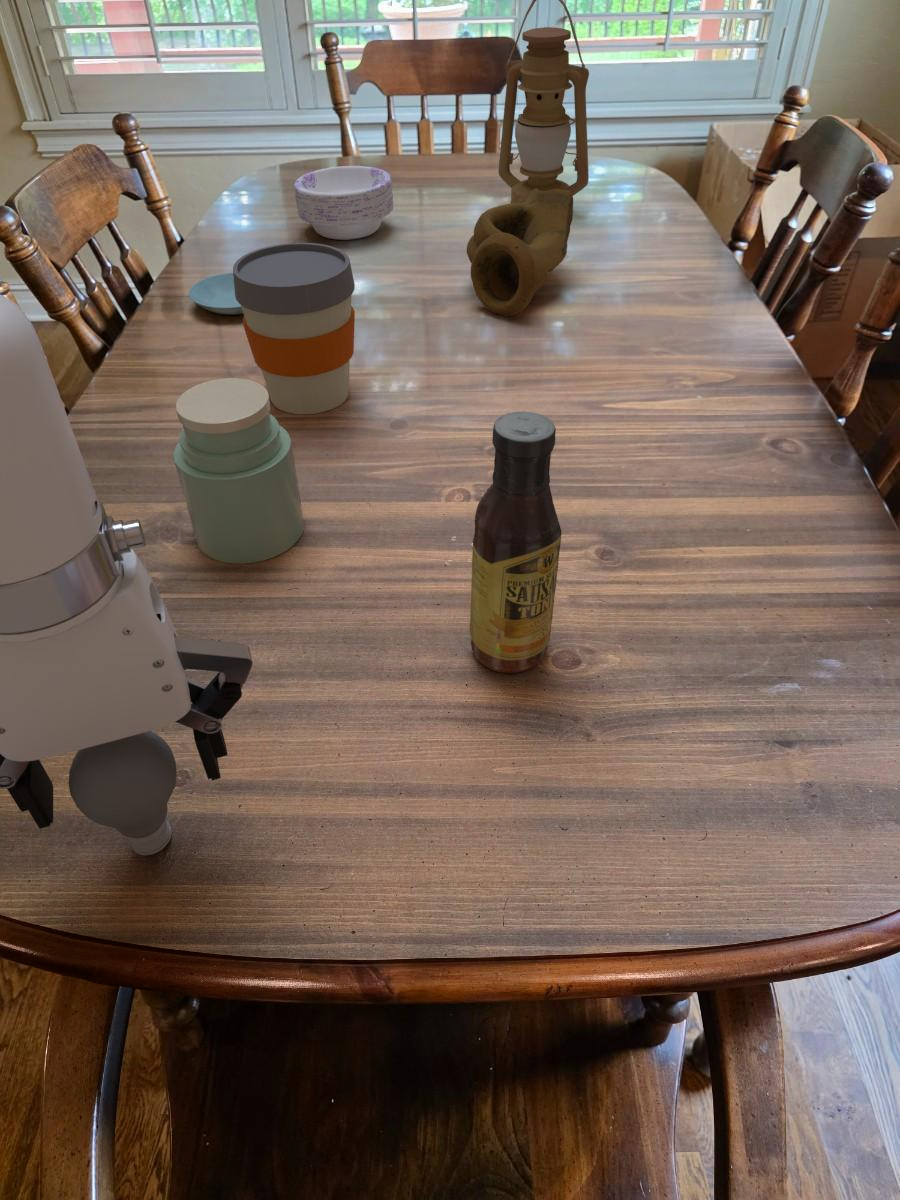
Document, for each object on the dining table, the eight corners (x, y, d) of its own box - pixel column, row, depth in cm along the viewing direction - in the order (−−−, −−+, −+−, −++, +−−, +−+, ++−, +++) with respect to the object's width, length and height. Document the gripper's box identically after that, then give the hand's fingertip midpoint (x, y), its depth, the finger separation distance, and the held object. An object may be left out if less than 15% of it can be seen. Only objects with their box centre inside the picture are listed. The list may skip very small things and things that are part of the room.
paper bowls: (292, 221, 143) (285, 169, 138) (381, 210, 147) (378, 159, 141) (309, 253, 132) (302, 198, 127) (405, 240, 136) (402, 187, 130)
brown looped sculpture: (636, 220, 119) (551, 239, 104) (594, 303, 128) (511, 332, 113) (535, 153, 124) (440, 162, 109) (502, 238, 133) (410, 257, 118)
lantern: (588, 202, 148) (605, -12, 128) (584, 223, 140) (602, -1, 120) (500, 199, 150) (504, -12, 130) (491, 219, 142) (494, -2, 122)
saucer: (288, 288, 123) (286, 272, 121) (267, 324, 114) (264, 307, 112) (207, 286, 124) (204, 270, 122) (180, 322, 115) (176, 305, 113)
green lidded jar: (173, 546, 79) (134, 415, 70) (239, 489, 86) (211, 362, 77) (263, 576, 76) (235, 442, 67) (324, 514, 82) (306, 384, 73)
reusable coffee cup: (306, 359, 106) (288, 234, 96) (386, 386, 101) (377, 256, 91) (231, 402, 99) (204, 270, 89) (314, 434, 93) (294, 298, 83)
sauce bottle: (508, 690, 65) (517, 466, 52) (453, 647, 69) (449, 427, 55) (568, 649, 68) (591, 428, 55) (512, 609, 72) (521, 393, 59)
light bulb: (121, 801, 58) (76, 702, 52) (209, 802, 58) (175, 704, 51) (91, 882, 54) (37, 786, 47) (186, 884, 54) (146, 787, 47)
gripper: (207, 484, 45) (264, 702, 57) (-158, 559, 41) (-19, 776, 53) (228, 571, 40) (285, 792, 51) (-190, 666, 36) (-27, 882, 47)
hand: (131, 784), depth 52 cm, fingers open, 9 cm apart
